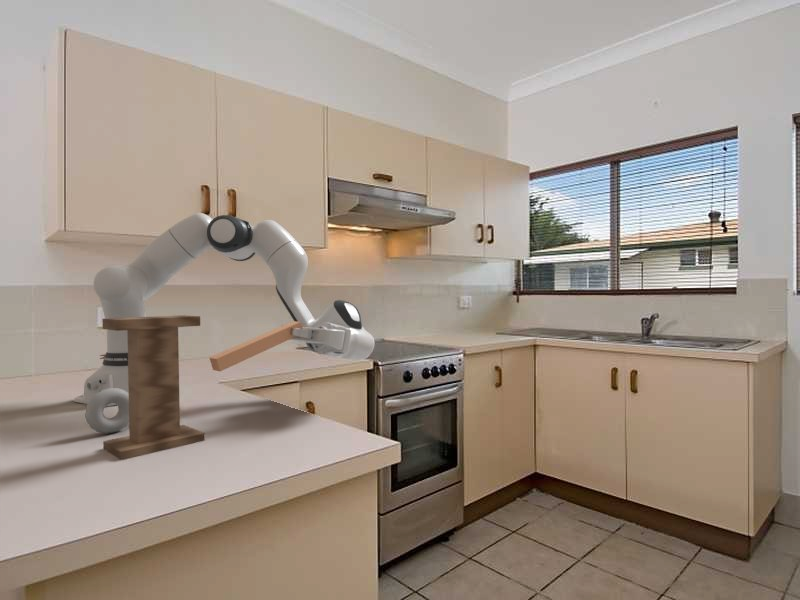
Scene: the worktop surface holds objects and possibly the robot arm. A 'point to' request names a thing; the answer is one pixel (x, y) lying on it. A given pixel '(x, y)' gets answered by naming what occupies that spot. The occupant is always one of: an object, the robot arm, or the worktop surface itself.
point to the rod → (253, 347)
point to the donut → (97, 407)
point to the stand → (152, 386)
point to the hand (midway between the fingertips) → (286, 330)
